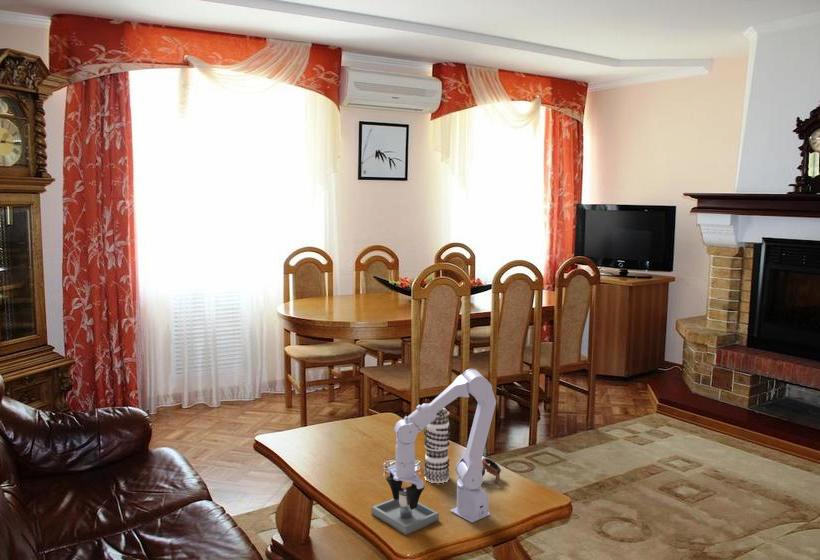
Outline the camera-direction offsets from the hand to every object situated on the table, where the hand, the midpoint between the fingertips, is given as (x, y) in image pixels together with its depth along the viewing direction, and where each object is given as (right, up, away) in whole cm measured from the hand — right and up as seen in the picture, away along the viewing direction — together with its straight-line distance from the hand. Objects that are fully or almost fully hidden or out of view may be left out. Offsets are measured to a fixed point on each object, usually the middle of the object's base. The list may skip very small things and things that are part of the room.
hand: (405, 503), depth 203 cm
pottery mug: (+26, -1, +27) cm, 38 cm away
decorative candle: (+11, -1, +28) cm, 30 cm away
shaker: (0, -4, +1) cm, 4 cm away
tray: (0, -5, +1) cm, 5 cm away
